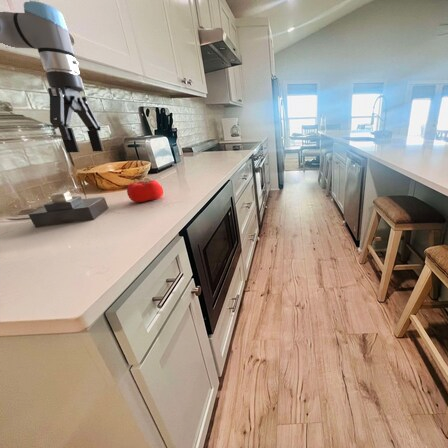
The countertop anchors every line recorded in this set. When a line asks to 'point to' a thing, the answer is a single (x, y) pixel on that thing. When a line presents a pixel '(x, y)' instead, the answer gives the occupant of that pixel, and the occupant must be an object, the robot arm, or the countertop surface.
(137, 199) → the tomato
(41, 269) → the countertop surface
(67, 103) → the robot arm
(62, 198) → the grey brown cube
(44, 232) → the countertop surface
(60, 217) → the dark grey stepped block
